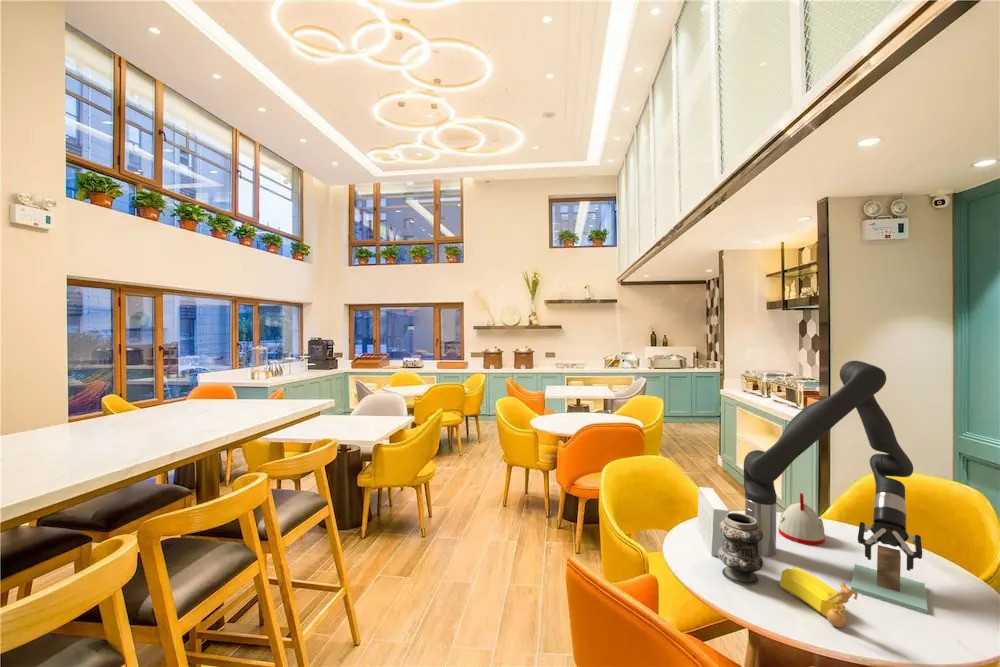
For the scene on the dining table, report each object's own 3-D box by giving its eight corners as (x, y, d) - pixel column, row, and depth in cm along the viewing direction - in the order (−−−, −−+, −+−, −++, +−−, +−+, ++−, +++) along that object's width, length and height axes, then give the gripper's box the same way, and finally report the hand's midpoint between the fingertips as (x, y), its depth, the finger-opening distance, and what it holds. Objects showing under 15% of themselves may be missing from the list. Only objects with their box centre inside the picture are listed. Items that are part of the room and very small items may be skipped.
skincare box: (729, 558, 147) (729, 510, 147) (711, 556, 148) (711, 509, 148) (712, 529, 168) (712, 487, 167) (696, 527, 169) (697, 486, 169)
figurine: (843, 618, 117) (844, 573, 117) (865, 634, 111) (866, 587, 111) (815, 621, 116) (815, 576, 116) (835, 637, 110) (836, 589, 110)
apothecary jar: (767, 575, 137) (768, 517, 137) (757, 593, 128) (757, 530, 128) (724, 561, 145) (725, 506, 145) (712, 576, 136) (713, 518, 136)
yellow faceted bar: (792, 581, 134) (771, 585, 132) (792, 559, 134) (772, 562, 132) (853, 619, 117) (830, 624, 115) (854, 594, 117) (831, 599, 115)
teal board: (851, 590, 129) (851, 586, 129) (854, 567, 141) (854, 563, 141) (927, 614, 119) (927, 609, 119) (924, 587, 131) (924, 583, 131)
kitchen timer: (823, 533, 164) (823, 492, 164) (826, 549, 153) (827, 505, 152) (778, 524, 172) (779, 485, 171) (778, 538, 160) (779, 497, 160)
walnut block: (876, 585, 130) (877, 551, 129) (876, 577, 133) (877, 544, 133) (899, 592, 126) (900, 557, 126) (899, 584, 130) (900, 550, 130)
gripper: (859, 500, 140) (856, 550, 131) (922, 512, 130) (923, 567, 122) (860, 511, 144) (857, 560, 135) (921, 524, 134) (921, 578, 126)
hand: (888, 564), depth 129 cm, fingers open, 8 cm apart
